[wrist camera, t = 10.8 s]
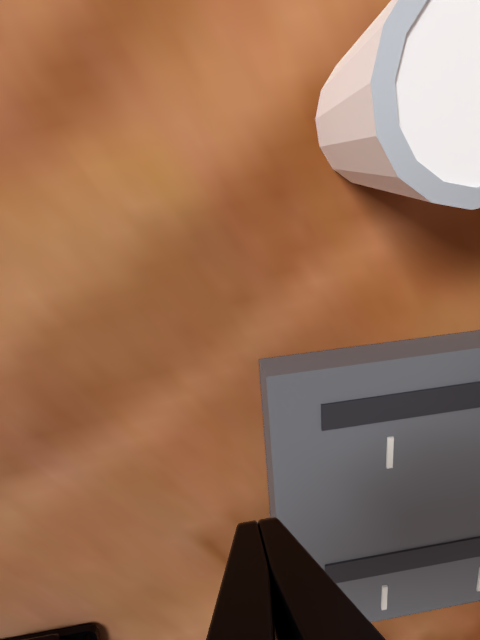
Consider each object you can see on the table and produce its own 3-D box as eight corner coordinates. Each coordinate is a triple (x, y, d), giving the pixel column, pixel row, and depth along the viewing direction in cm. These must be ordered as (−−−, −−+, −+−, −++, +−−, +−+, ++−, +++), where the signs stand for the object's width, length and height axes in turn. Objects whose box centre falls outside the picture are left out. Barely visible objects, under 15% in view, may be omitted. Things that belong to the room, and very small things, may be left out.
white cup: (463, 25, 17) (637, -73, 11) (443, 197, 19) (578, 205, 13) (302, 23, 16) (382, -83, 10) (300, 204, 19) (364, 215, 12)
